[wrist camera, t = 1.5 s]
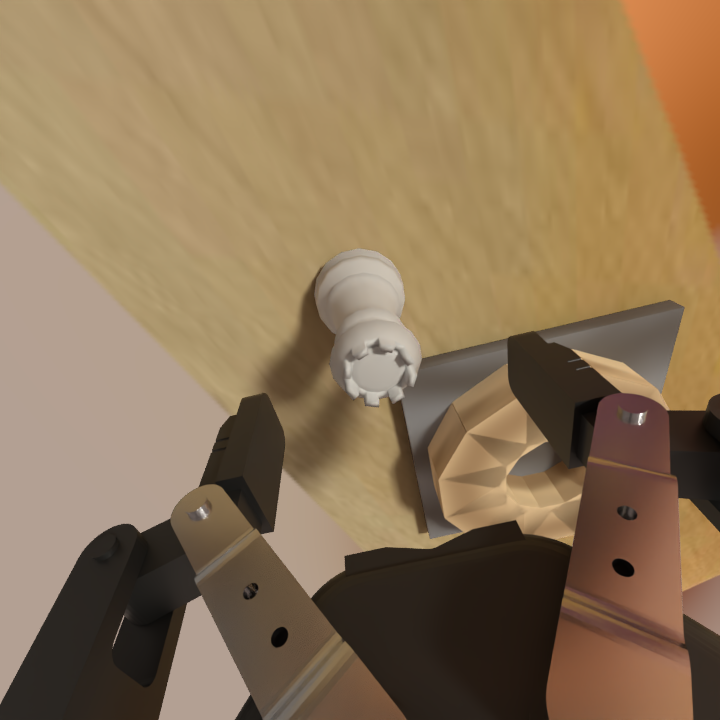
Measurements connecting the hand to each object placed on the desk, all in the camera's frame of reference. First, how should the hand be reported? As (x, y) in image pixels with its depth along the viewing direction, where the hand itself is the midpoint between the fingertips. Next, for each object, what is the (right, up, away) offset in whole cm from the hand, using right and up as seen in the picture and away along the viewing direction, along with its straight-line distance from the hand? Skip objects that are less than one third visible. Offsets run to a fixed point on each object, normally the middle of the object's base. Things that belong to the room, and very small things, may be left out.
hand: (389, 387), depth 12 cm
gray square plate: (+10, -4, +13) cm, 17 cm away
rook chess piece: (-1, +5, +7) cm, 8 cm away
